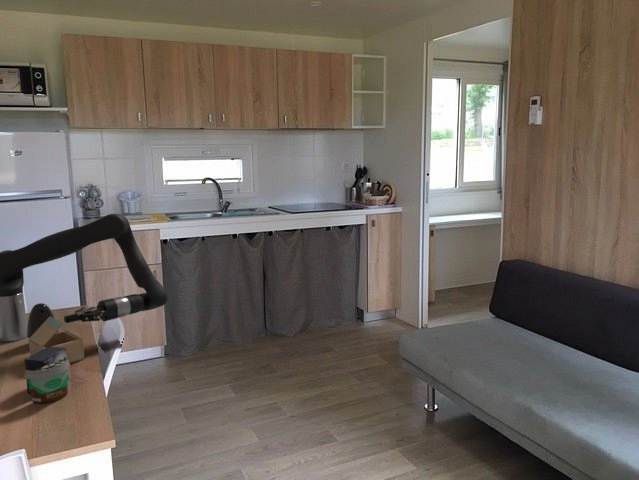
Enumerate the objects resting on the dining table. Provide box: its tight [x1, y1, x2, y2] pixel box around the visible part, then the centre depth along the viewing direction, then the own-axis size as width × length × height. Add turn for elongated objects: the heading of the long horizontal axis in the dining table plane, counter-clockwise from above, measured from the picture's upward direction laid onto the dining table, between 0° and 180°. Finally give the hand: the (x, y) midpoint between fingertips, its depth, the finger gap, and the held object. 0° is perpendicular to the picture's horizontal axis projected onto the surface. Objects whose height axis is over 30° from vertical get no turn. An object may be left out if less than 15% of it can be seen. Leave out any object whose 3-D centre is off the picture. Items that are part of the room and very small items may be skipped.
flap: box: [28, 316, 65, 347], centre depth 175 cm, size 11×1×9 cm
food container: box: [23, 357, 71, 405], centre depth 148 cm, size 12×6×10 cm, turn 148°
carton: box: [27, 330, 85, 365], centre depth 178 cm, size 15×13×7 cm
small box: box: [23, 346, 70, 394], centre depth 156 cm, size 11×6×10 cm, turn 168°
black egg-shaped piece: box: [26, 302, 60, 340], centre depth 192 cm, size 10×10×15 cm
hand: (65, 319), depth 179 cm, fingers closed
